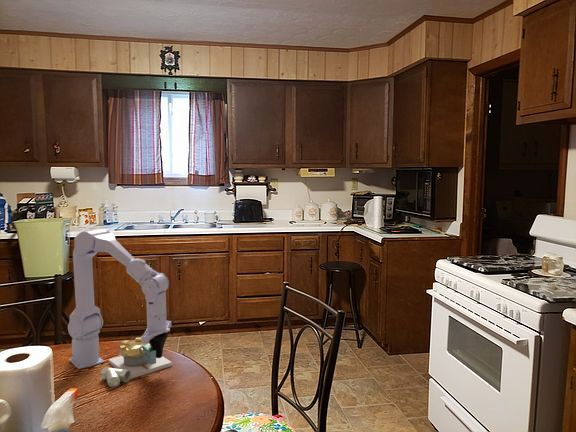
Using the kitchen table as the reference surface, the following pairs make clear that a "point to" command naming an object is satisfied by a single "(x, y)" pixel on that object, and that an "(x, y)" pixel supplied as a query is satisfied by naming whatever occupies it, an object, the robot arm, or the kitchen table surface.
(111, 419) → the kitchen table surface
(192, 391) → the kitchen table surface
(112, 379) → the pipe fitting
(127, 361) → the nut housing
